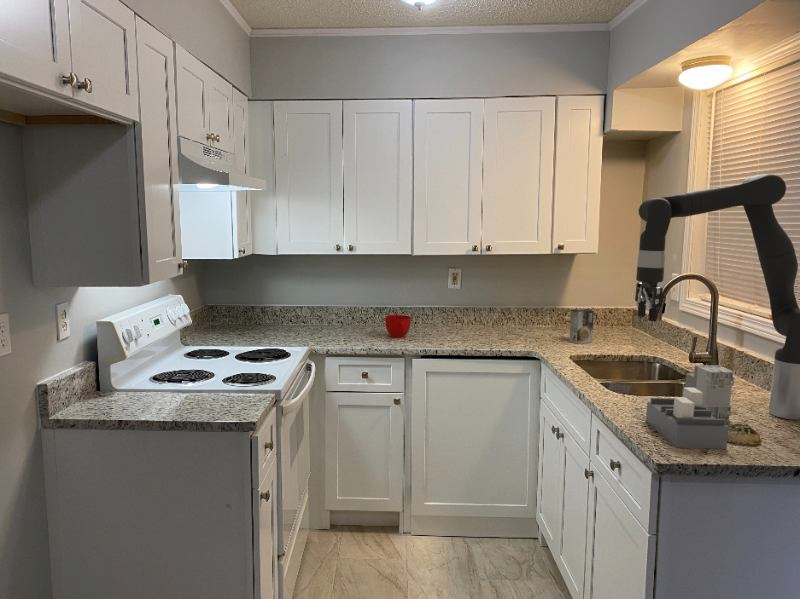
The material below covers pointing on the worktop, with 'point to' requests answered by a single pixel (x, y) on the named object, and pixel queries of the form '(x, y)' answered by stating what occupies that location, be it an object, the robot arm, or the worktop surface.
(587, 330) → the coffee box
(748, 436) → the bread roll
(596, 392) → the worktop surface
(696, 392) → the block
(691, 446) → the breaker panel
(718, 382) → the circuit breaker
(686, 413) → the breaker
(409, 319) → the ceramic cup
